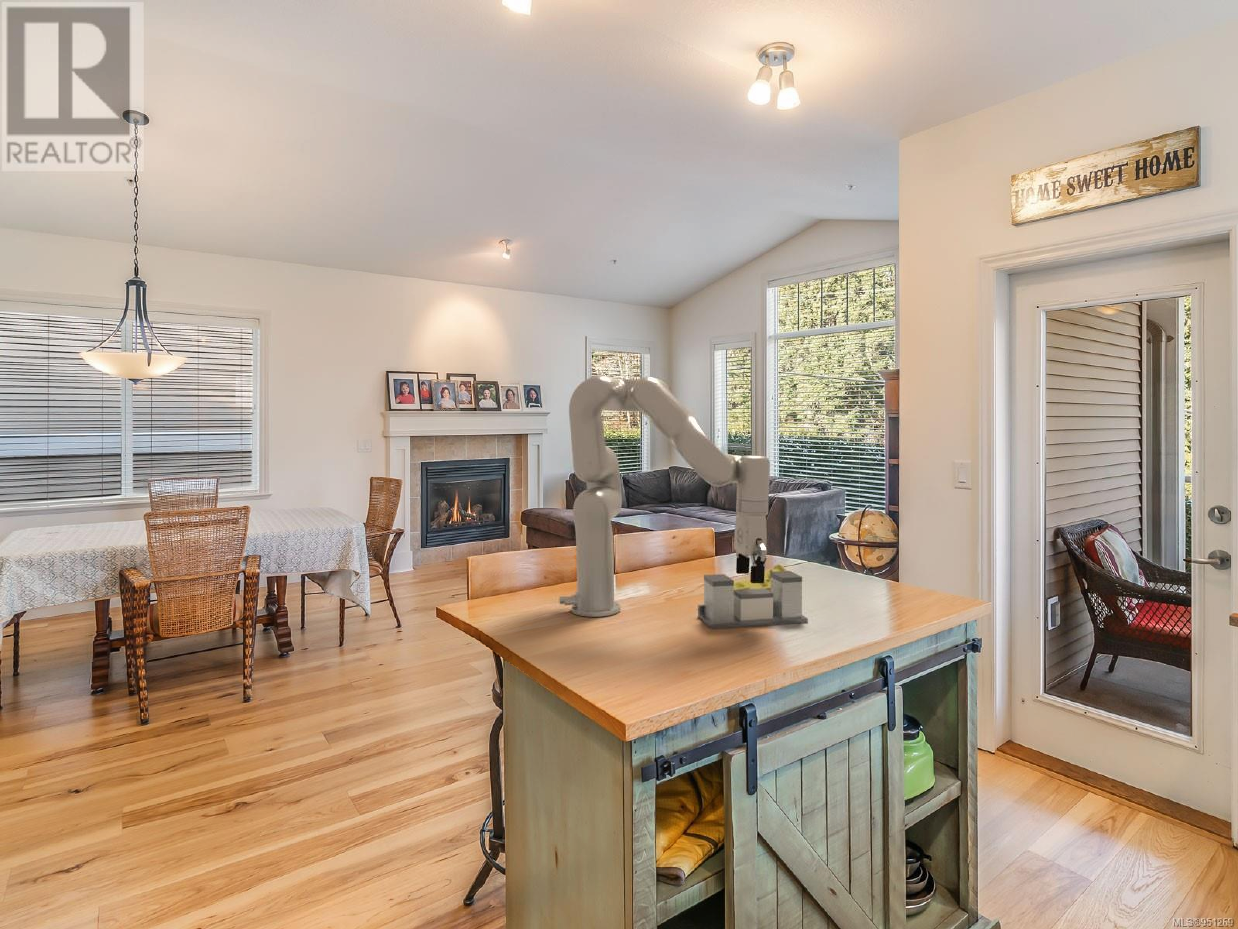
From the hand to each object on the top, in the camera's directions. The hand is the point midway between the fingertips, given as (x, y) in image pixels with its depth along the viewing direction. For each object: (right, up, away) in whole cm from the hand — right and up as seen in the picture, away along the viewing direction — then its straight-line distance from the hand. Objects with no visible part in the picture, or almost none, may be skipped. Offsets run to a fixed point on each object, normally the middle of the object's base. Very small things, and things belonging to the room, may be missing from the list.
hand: (749, 578), depth 159 cm
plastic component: (+7, -10, +26) cm, 29 cm away
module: (+1, -9, 0) cm, 9 cm away
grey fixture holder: (+1, -10, +1) cm, 10 cm away
